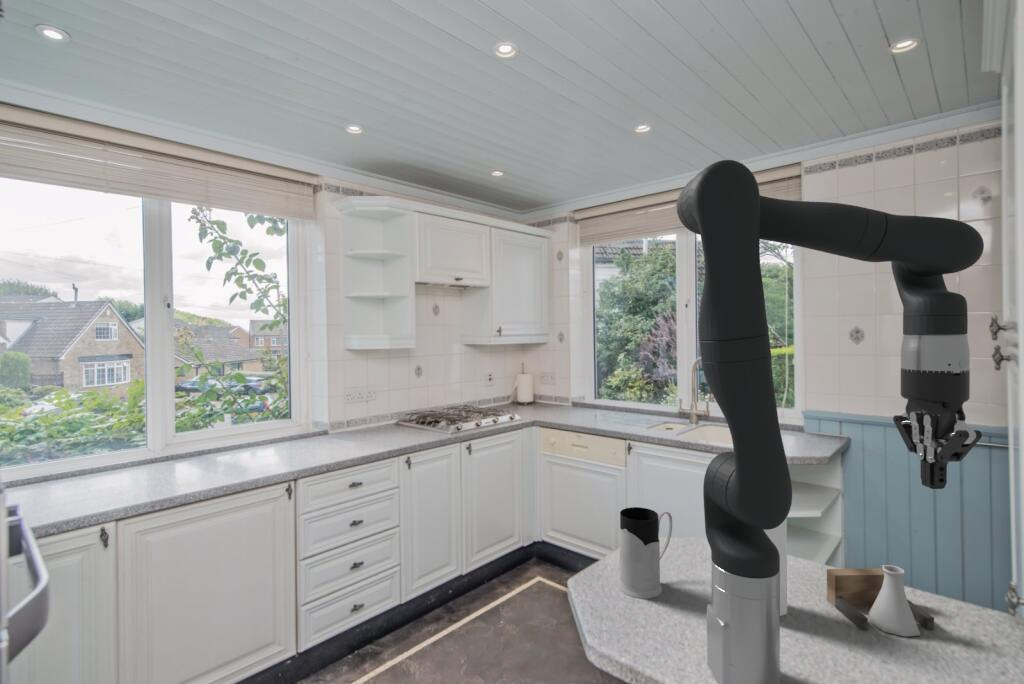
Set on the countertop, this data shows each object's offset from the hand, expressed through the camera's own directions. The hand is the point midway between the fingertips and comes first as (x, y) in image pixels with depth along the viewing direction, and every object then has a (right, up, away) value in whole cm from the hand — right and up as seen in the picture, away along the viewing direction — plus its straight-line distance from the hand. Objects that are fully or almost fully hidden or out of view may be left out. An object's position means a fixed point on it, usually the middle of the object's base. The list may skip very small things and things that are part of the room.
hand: (933, 487), depth 72 cm
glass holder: (-32, -29, +31) cm, 53 cm away
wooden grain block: (+6, -28, +19) cm, 35 cm away
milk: (-14, -29, +21) cm, 38 cm away
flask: (+6, -29, +16) cm, 33 cm away
